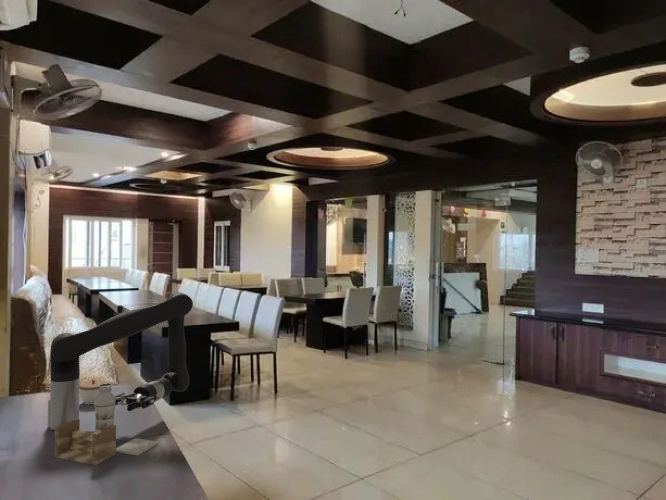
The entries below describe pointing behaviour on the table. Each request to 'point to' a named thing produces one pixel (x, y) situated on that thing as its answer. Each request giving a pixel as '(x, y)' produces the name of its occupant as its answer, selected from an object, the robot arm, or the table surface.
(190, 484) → the table surface
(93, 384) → the lidded jar
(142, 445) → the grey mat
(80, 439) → the offcut rack
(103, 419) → the plastic bottle
